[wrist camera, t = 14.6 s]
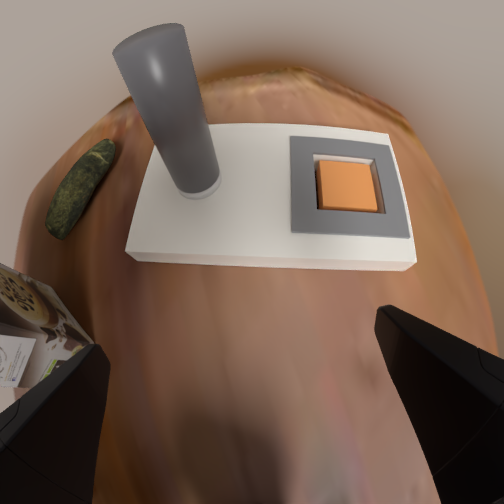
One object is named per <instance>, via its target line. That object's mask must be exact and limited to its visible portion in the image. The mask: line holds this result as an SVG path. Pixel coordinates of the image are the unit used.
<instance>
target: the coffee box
mask: <svg viewBox="0 0 504 504" xmlns="http://www.w3.org/2000/svg"><path fill="white" fill-rule="evenodd" d="M88 344H94V342H93V341H92V340H91V338H90V337H89V336H88V335H87V334H86V332H85V331H84V330H83V329H82V328H81V326H80V325H79V324H78V323H77V321H76V320H75V319H74V317H73V316H72V315H71V313H70V312H69V311H68V309H67V308H66V307H65V305H64V304H63V303H62V301H61V300H60V299H59V297H58V296H57V294H56V293H55V291H54V290H53V289H52V287H50V286H48V285H46V284H44V283H41V282H39V281H37V280H35V279H33V278H30V277H28V276H26V275H24V274H22V273H20V272H18V271H16V270H13V269H11V268H9V267H7V266H5V265H3V264H1V263H0V386H1V387H20V388H33V387H34V386H35V385H36V384H38V383H39V382H40V381H41V380H43V379H44V378H45V377H46V376H48V375H49V374H50V373H52V372H53V371H54V370H55V369H57V368H58V367H59V366H60V365H62V364H63V363H64V362H66V361H67V360H68V359H69V358H71V357H72V356H73V355H75V354H76V353H77V352H78V351H80V350H81V349H82V348H84V347H85V346H86V345H88Z"/></svg>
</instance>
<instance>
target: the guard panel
mask: <svg viewBox="0 0 504 504" xmlns="http://www.w3.org/2000/svg"><path fill="white" fill-rule="evenodd" d="M208 126H209V130H210V134H211V138H212V141H213V145H214V149H215V153H216V157H217V161H218V165H219V168H220V172H221V183H220V186H219V187H218V189H217V190H216V191H215V192H214V193H213V194H212V195H210V196H208V197H206V198H203V199H199V200H191V199H187V198H185V197H183V196H182V195H181V194H180V193H179V191H178V189H177V187H176V185H175V183H174V181H173V179H172V177H171V175H170V173H169V172H168V170H167V168H166V166H165V164H164V162H163V160H162V158H161V156H160V154H159V152H158V150H157V148H156V146H154V149H153V152H152V155H151V158H150V161H149V164H148V167H147V170H146V173H145V177H144V180H143V183H142V187H141V190H140V193H139V197H138V200H137V204H136V208H135V212H134V215H133V219H132V223H131V227H130V232H129V236H128V240H127V245H126V249H125V252H127V253H128V254H129V255H130V256H132V257H133V258H134V259H135V260H137V261H146V262H164V263H184V264H204V265H227V266H250V267H276V268H305V269H338V270H379V271H405V270H406V269H408V268H409V267H411V266H412V265H413V264H415V263H416V262H417V259H416V252H415V245H414V239H413V233H412V227H411V221H410V216H409V211H408V206H407V202H406V197H405V193H404V189H403V185H402V181H401V177H400V173H399V169H398V165H397V162H396V158H395V155H394V152H393V148H392V145H391V142H390V139H389V136H388V134H383V133H377V132H370V131H363V130H355V129H347V128H337V127H327V126H315V125H299V124H272V123H237V124H210V125H208ZM319 160H323V161H336V162H347V163H357V164H367V165H369V167H370V171H371V176H372V181H373V186H374V192H375V197H376V203H377V211H376V212H375V213H367V212H353V211H337V210H319V209H317V201H316V185H315V171H317V169H318V165H319Z"/></svg>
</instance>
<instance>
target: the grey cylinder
mask: <svg viewBox="0 0 504 504" xmlns="http://www.w3.org/2000/svg"><path fill="white" fill-rule="evenodd" d="M112 54H113V56H114V59H115V61H116V63H117V65H118V68H119V70H120V72H121V74H122V76H123V79H124V81H125V83H126V85H127V87H128V90H129V92H130V94H131V96H132V98H133V100H134V102H135V105H136V107H137V109H138V111H139V113H140V115H141V117H142V119H143V121H144V123H145V125H146V127H147V130H148V132H149V134H150V136H151V138H152V140H153V142H154V144H155V146H156V148H157V150H158V152H159V154H160V156H161V158H162V160H163V162H164V164H165V166H166V168H167V170H168V172H169V173H170V175H171V177H172V179H173V181H174V183H175V185H176V187H177V189H178V191H179V193H180V194H181V195H182V196H183V197H185V198H187V199H191V200H199V199H203V198H206V197H208V196H210V195H212V194H213V193H214V192H215V191H216V190H217V189H218V187H219V186H220V183H221V172H220V168H219V165H218V161H217V157H216V153H215V149H214V145H213V141H212V138H211V134H210V130H209V126H208V122H207V118H206V114H205V110H204V106H203V102H202V98H201V94H200V90H199V86H198V82H197V79H196V75H195V71H194V67H193V63H192V59H191V54H190V50H189V46H188V42H187V38H186V34H185V30H184V26H183V25H181V24H177V23H169V24H162V25H157V26H153V27H150V28H147V29H144V30H142V31H140V32H137V33H135V34H134V35H132V36H130V37H128V38H126V39H125V40H123V41H122V42H121V43H120V44H118V45H117V46H116V47H115V49H114V50H113V53H112Z"/></svg>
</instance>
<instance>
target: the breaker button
mask: <svg viewBox="0 0 504 504" xmlns="http://www.w3.org/2000/svg"><path fill="white" fill-rule="evenodd" d="M317 185H318V200H319V210H337V211H353V212H367V213H375V212H376V211H377V203H376V197H375V192H374V186H373V181H372V176H371V171H370V167H369V165H367V164H357V163H347V162H336V161H323V160H319V165H318V169H317Z"/></svg>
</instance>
